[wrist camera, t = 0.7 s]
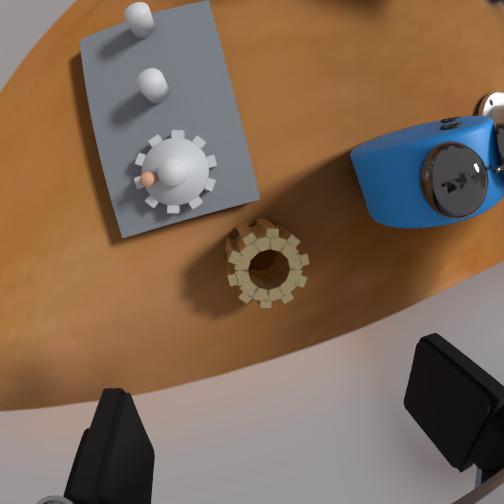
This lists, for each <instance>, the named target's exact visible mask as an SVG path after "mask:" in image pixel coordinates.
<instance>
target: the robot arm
mask: <svg viewBox="0 0 504 504" xmlns="http://www.w3.org/2000/svg"><path fill="white" fill-rule="evenodd" d="M478 116H487V117H489V118H491V119H492V120H493V122H494V125H495V129H496V123H497V122H504V93H500V92H493V93H489V94H487V95H486V96H485V97H484V98H483V100H482V101H481V104H480V107H479V111H478ZM404 406H405V408H406V410H407V411H408V412H409V413H410V414H411V416H412V417H413V418H414V420H415V421H416V422H417V423H418V425H419V426H420V427H421V428H422V430H423V431H424V432H425V433H426V434H427V436H428V437H429V438H430V439H431V441H432V442H433V443H434V444H435V446H436V447H437V448H438V449H439V451H440V452H441V453H442V455H443V456H444V457H445V458H446V460H447V461H448V462H449V463H450V465H451V466H452V467H454V468H457V469H458V470H459V471H460V472H463V471H464V470H466V469H468V468H469V467H471V466H472V465H473V463H475V465H476V466H477V470H476V480H475V489H474V490H473V491H471V492H469V493H468V494H466V495H465V496H463V497H462V498H460V499H458V500H457V501H455V502H454V503H452V504H504V386H503V385H501V384H500V383H499V382H498V381H497V380H496V379H494V378H493V377H492V376H491V375H489V374H488V373H487V372H486V371H484V370H483V369H482V368H481V367H480V366H478V365H477V364H476V363H475V362H473V361H472V360H471V359H470V358H468V357H467V356H466V355H464V354H463V353H462V352H461V351H459V350H458V349H457V348H456V347H454V346H453V345H452V344H450V343H449V342H447V341H446V340H445V339H444V338H443V337H441V336H440V335H439V334H437V333H433V334H430V335H427V336H424V337H422V338H421V339H420V340H419V343H418V344H417V345H416V349H415V354H414V359H413V364H412V369H411V373H410V377H409V382H408V386H407V390H406V394H405V398H404ZM154 458H155V455H154V450H153V447H152V444H151V442H150V440H149V438H148V435H147V433H146V431H145V429H144V427H143V424H142V422H141V419H140V417H139V415H138V412H137V409H136V407H135V405H134V402H133V399H132V397H131V394H130V393H125V391H124V390H123V389H122V388H110V389H104V390H103V393H102V395H101V398H100V401H99V403H98V406H97V409H96V412H95V415H94V418H93V420H92V423H91V426H90V428H89V429H86V430H85V431H84V433H83V436H82V439H81V441H80V445H79V448H78V450H77V453H76V456H75V459H74V463H73V466H72V469H71V472H70V476H69V479H68V482H67V486H66V489H65V492H64V496H63V497H61V496H48V497H45V498H43V499H41V500H40V501H38V502H37V503H36V504H151V495H152V482H153V469H154Z"/></svg>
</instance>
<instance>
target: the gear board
mask: <svg viewBox="0 0 504 504" xmlns="http://www.w3.org/2000/svg"><path fill="white" fill-rule="evenodd" d="M124 18H125V19H126V21H127V22H124V23H121V24H118V25H116V26H113V27H110V28H107V29H105V30H102V31H100V32H97V33H95V34H92V35H90V36H88V37H85V38H83V39H81V40H79V41H80V50H81V58H82V66H83V73H84V79H85V86H86V92H87V97H88V103H89V109H90V114H91V119H92V124H93V129H94V133H95V138H96V143H97V147H98V151H99V156H100V160H101V164H102V168H103V172H104V176H105V180H106V183H107V187H108V191H109V194H110V198H111V202H112V205H113V209H114V212H115V215H116V219H117V222H118V225H119V228H120V232H121V235H122V238H126V237H129V236H132V235H136V234H139V233H142V232H146V231H149V230H152V229H156V228H159V227H162V226H166V225H169V224H173V223H176V222H179V221H183V220H186V219H190V218H194V217H197V216H201V215H204V214H208V213H212V212H215V211H219V210H223V209H226V208H230V207H234V206H238V205H241V204H245V203H249V202H253V201H257V200H260V196H259V191H258V187H257V183H256V179H255V175H254V171H253V167H252V163H251V159H250V155H249V151H248V147H247V143H246V139H245V135H244V131H243V127H242V123H241V119H240V115H239V111H238V107H237V103H236V100H235V96H234V92H233V88H232V84H231V80H230V77H229V73H228V69H227V65H226V62H225V58H224V54H223V50H222V47H221V43H220V39H219V36H218V32H217V28H216V25H215V21H214V17H213V14H212V10H211V7H210V3H209V0H207V1H202V2H197V3H192V4H187V5H183V6H179V7H175V8H171V9H167V10H163V11H159V12H156V13H152V14H151V12H150V9H149V6H148V5H147V4H146V3H143V2H137V3H134V4H132V5H130V6H129V7H128V8H127V9H126V10H125V12H124Z"/></svg>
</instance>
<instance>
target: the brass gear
mask: <svg viewBox="0 0 504 504" xmlns="http://www.w3.org/2000/svg"><path fill="white" fill-rule="evenodd" d="M236 228H237V230H238V232H239V234H238V235H237V236H236V237H235V238H234V239H233V238H230V237H228V238H227V241H226V243H225V250H226V255H227V257H226V258H224V261H225V267H226V272H227V277H228V280H229V284H230V287H231V286H234V285H235V287H236V291H237V295H238V298H239V299H241V300H242V301H244V302H245V303H246V304H247V303H248V302H249V301H250V300H251V299H255V300H257V301H258V304H259V307H260V308H271V305H272V301H274V300H278V299H281V300H282V301H283V303H284V304H286V303H287V302H289V301H290V300H292V299H294V297H293V296H292V294H291V293H290V292H291V291H292V290H293V289H294V288H295V287H296V285H297V286H300V287H302V288H303V287H304V285H305V283H306V281H307V278H308V277H307V276H306V275H305V274H304V273H303V272H302V269H301V268H303V267H302V266H305V265H308V264H309V259H308V254H307V253H306V252H305V251H304V250H303V249H302V248H300V247H299V246H298V244H299V243H300V241H299V240H298V239H297V238H296V237H295V236H294V235H292V234H291V233H290V232H288V231H287V230H286V229H285V228H283V227H282V226H281V225H279V224H277V225H276V226H275V225H273V224H272V223H271V222H270V221H269V220H267V219H259V218H257V222H256V225H255V226H251V227H248V226H247V224H246V223H245V222H243V223H242V224H240V225H239V226H237V227H236ZM268 249H272V250H276V252H277V254H276V257H275V260H274V262H273V263H272V264H271V265H270V266H269V267H268V268H266V269H262V270H259V271H258V270H254V269H250V268H249V265H250V261H251V259H252V258H253V257H254V256H256V255H257V254H258V253H259V252H261V251H265V250H268Z"/></svg>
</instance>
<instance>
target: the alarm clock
mask: <svg viewBox="0 0 504 504" xmlns="http://www.w3.org/2000/svg"><path fill="white" fill-rule="evenodd" d="M350 157H351V160H352V163H353V166H354V169H355V172H356V175H357V178H358V181H359V184H360V187H361V190H362V193H363V196H364V199H365V203H366V206H367V209H368V212H369V215H370V216H371V218H373V219H374V220H375V221H376V222H378V223H380V224H383V225H386V226H391V227H397V228H426V227H435V226H441V225H447V224H451V223H455V222H459V221H463V220H466V219H469V218H472V217H474V216H477V215H479V214H481V213H483V212H485V211H487V210H489V209H490V208H492V207H493V206H495V205H496V204H497V203H498V202H500V200H501V199H502V198H503V197H504V122H497V123H496V129H495V125H494V122H493V120H492V119H491V118H489V117H487V116H465V117H453V118H449V119H443V120H439V121H434V122H429V123H425V124H421V125H417V126H413V127H409V128H405V129H402V130H399V131H395V132H392V133H389V134H386V135H383V136H380V137H377V138H375V139H372V140H370V141H367V142H365V143H363V144H361V145H359V146H357V147H355V148H354V149H353V150H352V151H351V153H350Z"/></svg>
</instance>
